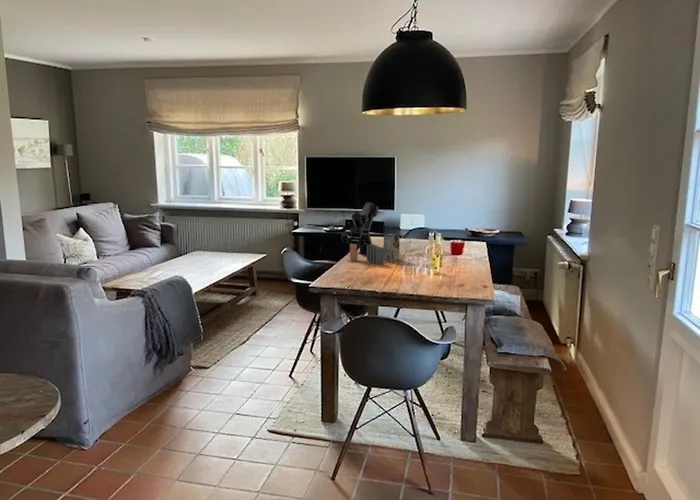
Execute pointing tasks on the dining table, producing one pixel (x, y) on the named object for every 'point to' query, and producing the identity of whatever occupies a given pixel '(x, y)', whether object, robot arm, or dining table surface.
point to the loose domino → (353, 252)
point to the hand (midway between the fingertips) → (353, 249)
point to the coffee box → (391, 247)
